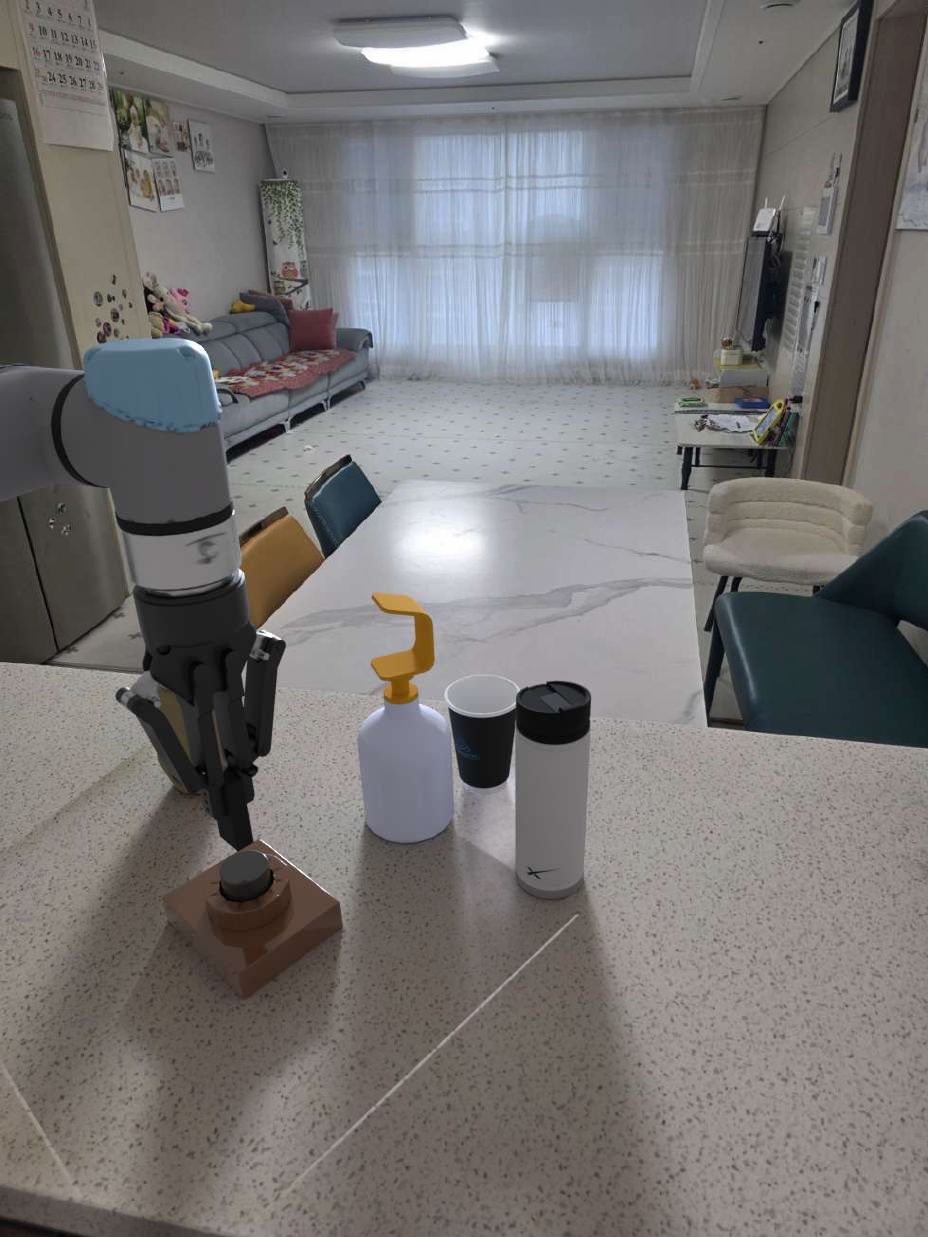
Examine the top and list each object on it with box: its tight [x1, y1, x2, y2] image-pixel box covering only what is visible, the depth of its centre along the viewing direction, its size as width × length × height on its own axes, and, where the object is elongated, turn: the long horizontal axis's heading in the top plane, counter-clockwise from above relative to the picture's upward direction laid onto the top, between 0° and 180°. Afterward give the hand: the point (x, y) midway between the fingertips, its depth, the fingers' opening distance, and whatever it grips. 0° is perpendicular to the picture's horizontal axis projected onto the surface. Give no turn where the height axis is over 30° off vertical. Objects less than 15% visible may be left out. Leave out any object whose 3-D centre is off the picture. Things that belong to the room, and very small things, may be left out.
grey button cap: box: [219, 850, 271, 902], centre depth 69 cm, size 4×4×2 cm
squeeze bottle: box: [156, 684, 227, 795], centre depth 87 cm, size 8×8×18 cm
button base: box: [161, 838, 344, 1001], centre depth 71 cm, size 12×10×5 cm
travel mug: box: [514, 680, 592, 900], centre depth 71 cm, size 6×7×20 cm
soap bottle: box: [356, 592, 455, 844], centre depth 79 cm, size 9×9×25 cm
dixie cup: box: [443, 674, 521, 796], centre depth 86 cm, size 8×8×11 cm
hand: (236, 839), depth 68 cm, fingers closed
